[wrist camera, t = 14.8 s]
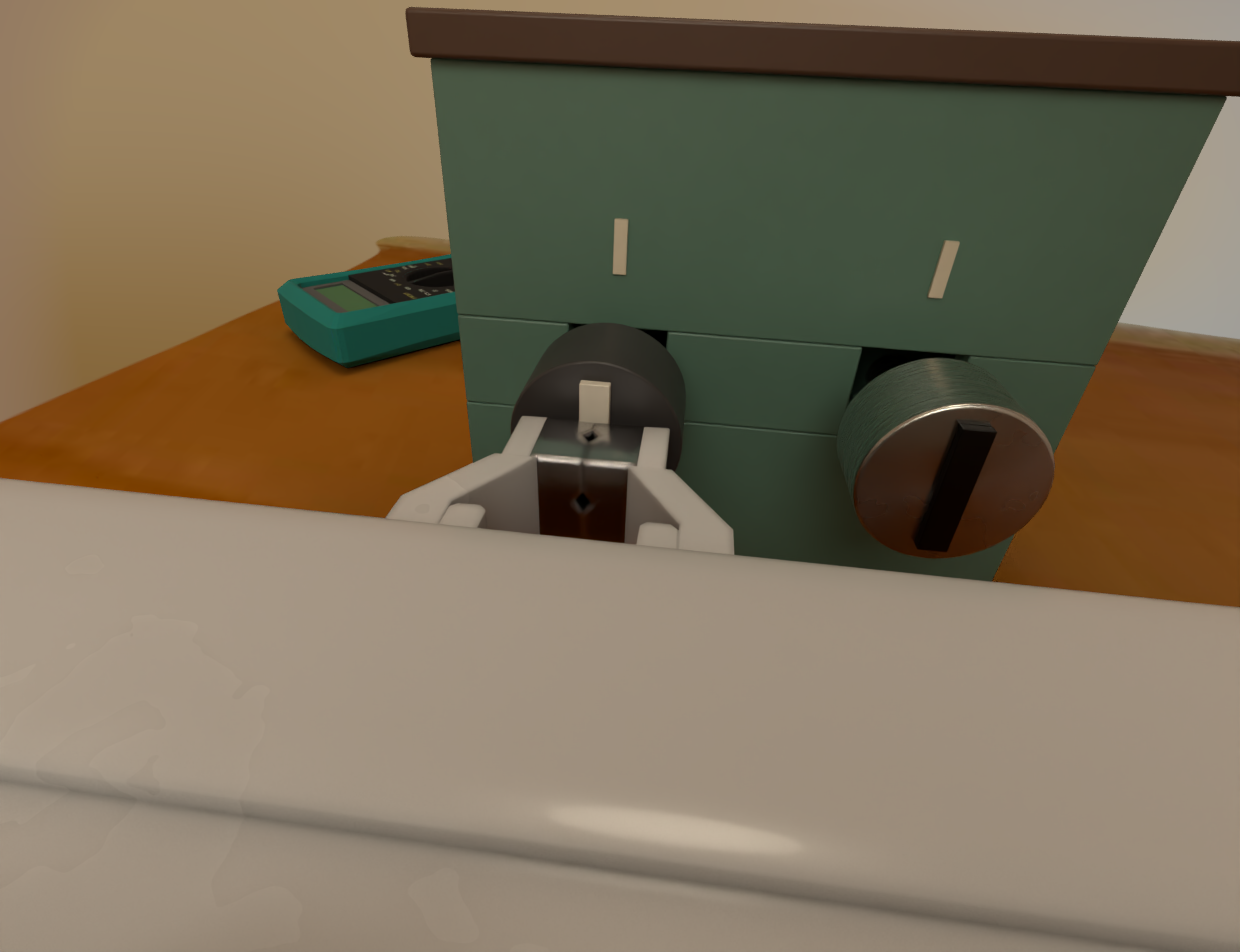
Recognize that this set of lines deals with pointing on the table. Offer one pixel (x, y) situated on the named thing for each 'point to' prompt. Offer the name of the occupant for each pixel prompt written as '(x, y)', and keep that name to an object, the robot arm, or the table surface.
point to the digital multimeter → (374, 310)
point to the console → (804, 223)
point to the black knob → (608, 382)
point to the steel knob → (941, 458)
